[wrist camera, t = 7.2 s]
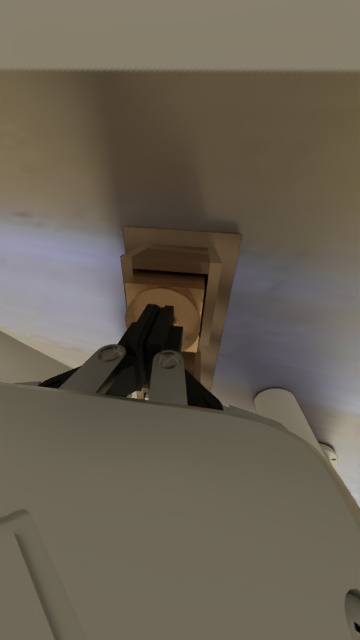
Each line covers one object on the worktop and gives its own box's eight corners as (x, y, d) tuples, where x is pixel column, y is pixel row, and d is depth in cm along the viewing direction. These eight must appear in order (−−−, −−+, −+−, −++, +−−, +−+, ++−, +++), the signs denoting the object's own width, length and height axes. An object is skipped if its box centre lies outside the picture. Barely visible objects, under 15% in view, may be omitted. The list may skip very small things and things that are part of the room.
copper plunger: (198, 310, 19) (196, 358, 13) (153, 306, 20) (129, 350, 13) (203, 263, 17) (204, 293, 10) (151, 259, 17) (120, 286, 11)
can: (293, 409, 31) (339, 505, 21) (254, 412, 33) (279, 502, 22) (294, 384, 28) (348, 481, 18) (251, 388, 30) (278, 480, 19)
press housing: (209, 387, 31) (211, 438, 23) (141, 379, 31) (123, 426, 24) (240, 233, 18) (263, 243, 11) (127, 226, 19) (83, 232, 12)
